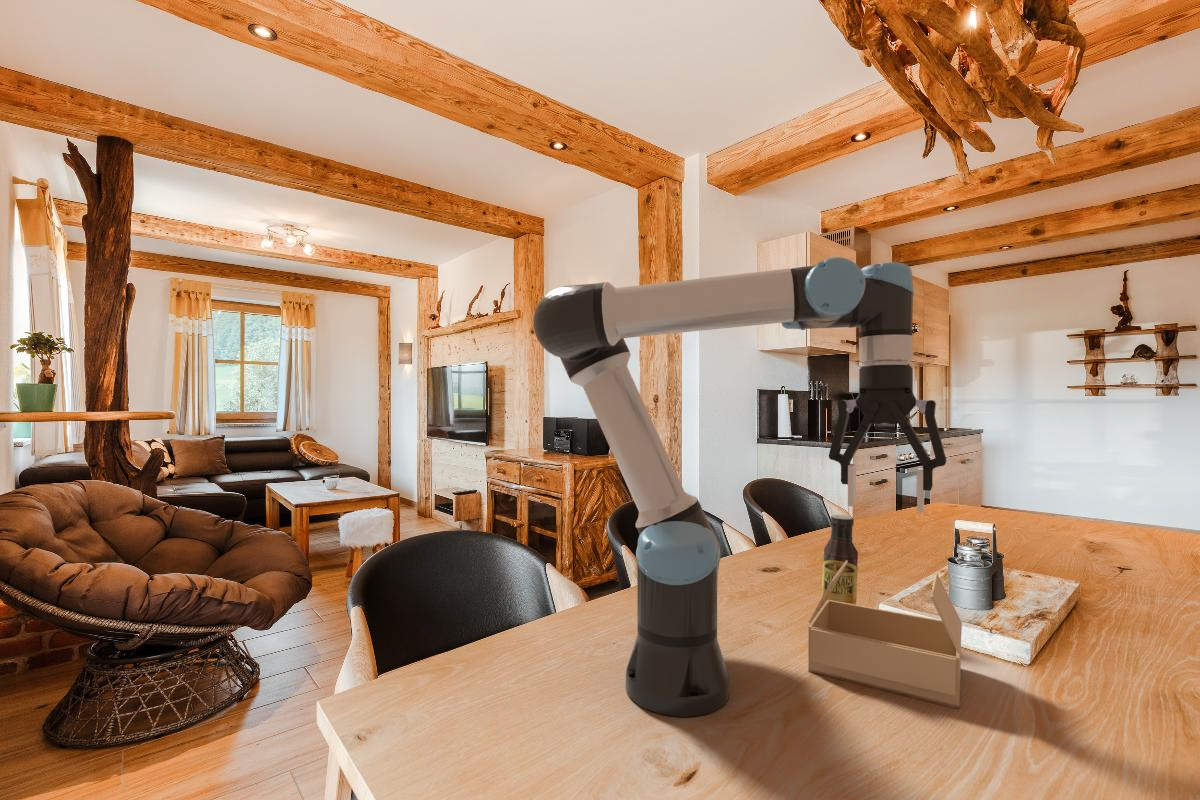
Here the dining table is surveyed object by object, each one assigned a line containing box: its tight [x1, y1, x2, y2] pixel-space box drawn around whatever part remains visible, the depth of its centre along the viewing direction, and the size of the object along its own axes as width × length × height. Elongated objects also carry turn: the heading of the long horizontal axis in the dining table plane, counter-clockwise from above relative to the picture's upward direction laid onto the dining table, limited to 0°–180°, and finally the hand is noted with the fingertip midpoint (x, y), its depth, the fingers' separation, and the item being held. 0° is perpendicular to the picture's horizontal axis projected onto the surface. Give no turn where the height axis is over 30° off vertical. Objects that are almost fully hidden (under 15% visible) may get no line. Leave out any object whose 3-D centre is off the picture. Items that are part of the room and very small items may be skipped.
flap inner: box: [808, 560, 848, 624], centre depth 95 cm, size 13×1×8 cm, turn 147°
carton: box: [807, 600, 962, 710], centre depth 90 cm, size 15×20×7 cm
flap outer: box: [930, 572, 963, 654], centre depth 86 cm, size 13×1×8 cm, turn 147°
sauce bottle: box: [820, 514, 859, 607], centre depth 111 cm, size 6×6×20 cm
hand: (885, 508), depth 90 cm, fingers open, 9 cm apart
